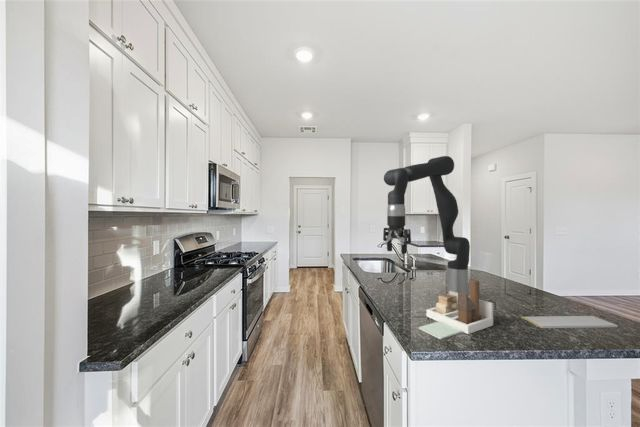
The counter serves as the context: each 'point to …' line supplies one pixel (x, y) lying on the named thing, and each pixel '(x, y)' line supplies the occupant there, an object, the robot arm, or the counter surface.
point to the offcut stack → (446, 304)
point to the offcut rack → (452, 321)
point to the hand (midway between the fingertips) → (396, 252)
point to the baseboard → (569, 322)
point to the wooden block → (469, 304)
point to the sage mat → (440, 330)
